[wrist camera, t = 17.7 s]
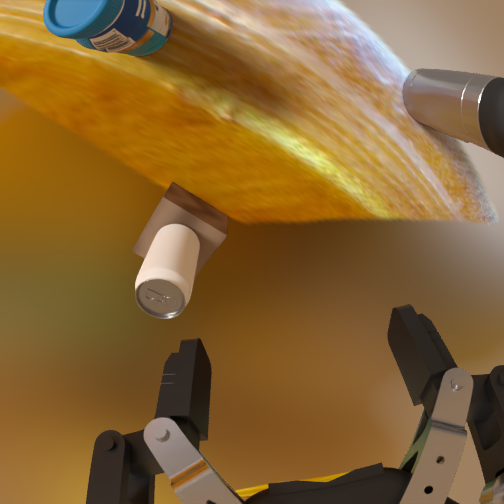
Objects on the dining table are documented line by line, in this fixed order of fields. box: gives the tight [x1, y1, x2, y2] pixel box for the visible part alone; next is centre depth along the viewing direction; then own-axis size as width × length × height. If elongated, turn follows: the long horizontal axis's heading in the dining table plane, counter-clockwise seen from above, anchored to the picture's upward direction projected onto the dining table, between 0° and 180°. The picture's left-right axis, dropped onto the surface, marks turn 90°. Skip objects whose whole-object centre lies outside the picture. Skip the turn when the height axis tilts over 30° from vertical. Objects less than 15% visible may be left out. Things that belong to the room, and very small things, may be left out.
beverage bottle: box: [43, 0, 173, 56], centre depth 22 cm, size 8×8×20 cm
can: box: [135, 224, 200, 319], centre depth 36 cm, size 6×6×12 cm
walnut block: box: [133, 182, 228, 278], centre depth 44 cm, size 10×10×6 cm
